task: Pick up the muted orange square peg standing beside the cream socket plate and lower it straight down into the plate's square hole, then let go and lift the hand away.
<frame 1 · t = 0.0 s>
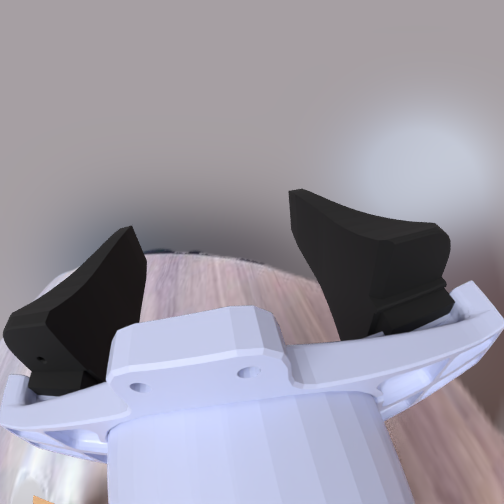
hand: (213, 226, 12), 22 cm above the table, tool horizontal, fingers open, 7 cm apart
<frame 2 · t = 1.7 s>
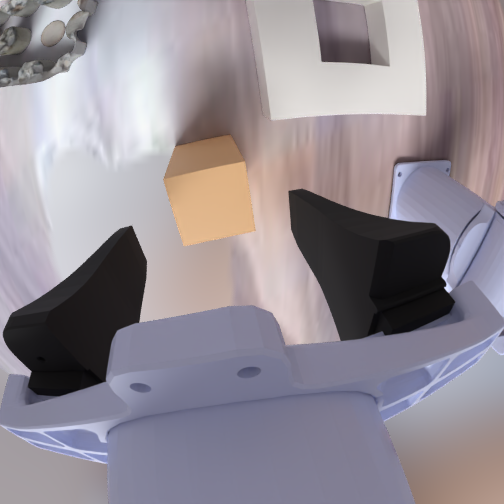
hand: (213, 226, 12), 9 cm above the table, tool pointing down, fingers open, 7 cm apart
egg carton: (38, 39, 10), on the table
peg: (207, 165, 19), on the table
socket plate: (337, 31, 14), on the table
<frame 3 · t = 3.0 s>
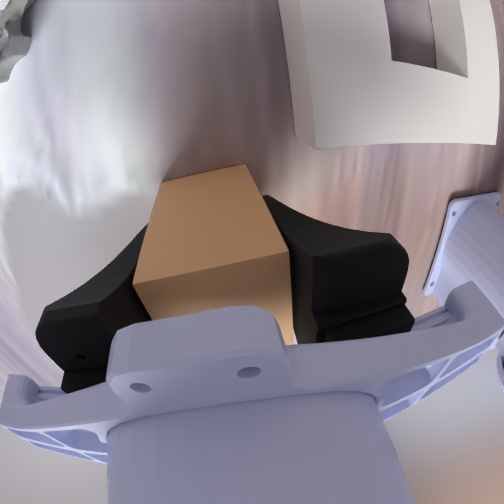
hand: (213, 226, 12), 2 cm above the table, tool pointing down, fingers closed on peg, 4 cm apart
peg: (211, 210, 13), on the table, touching gripper
socket plate: (398, 19, 8), on the table
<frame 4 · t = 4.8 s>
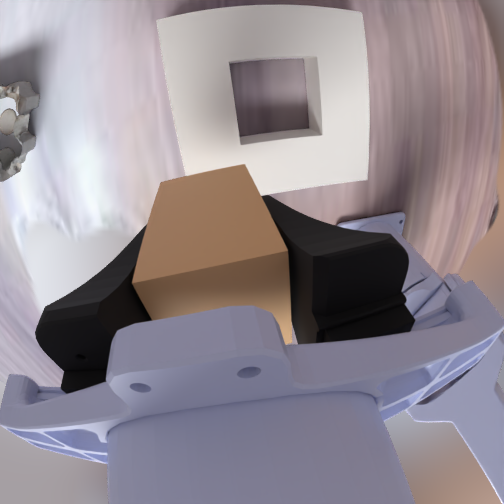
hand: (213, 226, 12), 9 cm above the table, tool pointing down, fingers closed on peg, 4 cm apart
peg: (210, 209, 13), point 7 cm above the table, touching gripper
socket plate: (269, 96, 17), on the table
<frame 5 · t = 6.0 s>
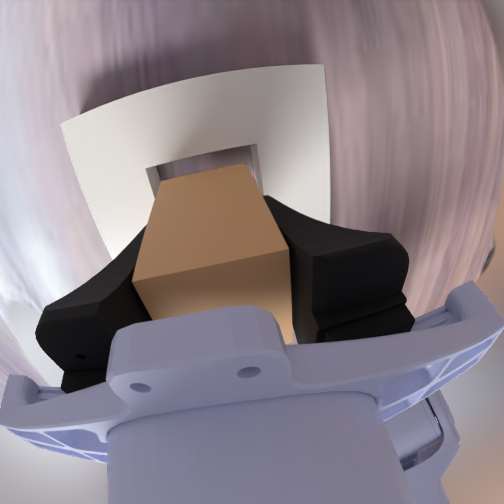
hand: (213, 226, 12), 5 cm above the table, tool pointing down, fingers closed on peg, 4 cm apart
peg: (210, 208, 13), point 3 cm above the table, touching gripper
socket plate: (209, 186, 16), on the table
when the fingers open (3 cm above the table, at t = 6.8 s): peg drops 1 cm, resting in socket plate.
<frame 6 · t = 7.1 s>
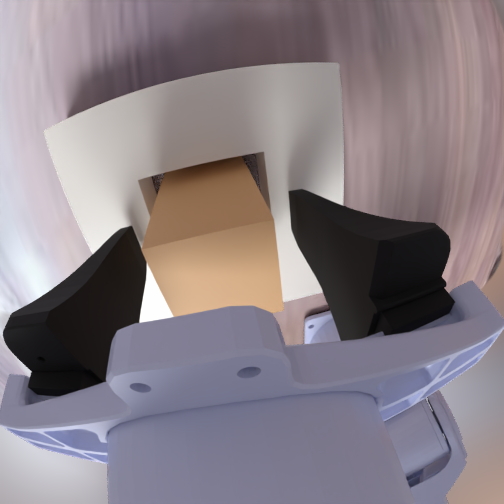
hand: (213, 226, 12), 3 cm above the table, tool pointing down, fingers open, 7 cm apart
peg: (210, 196, 15), resting in socket plate
socket plate: (210, 197, 15), on the table
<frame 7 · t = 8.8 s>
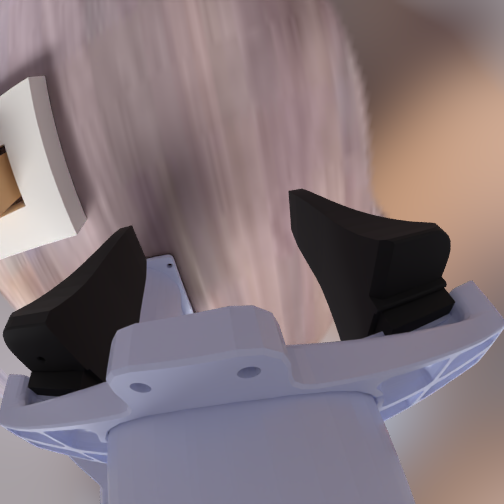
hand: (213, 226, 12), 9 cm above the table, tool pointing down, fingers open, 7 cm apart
peg: (9, 174, 16), resting in socket plate
socket plate: (9, 175, 16), on the table
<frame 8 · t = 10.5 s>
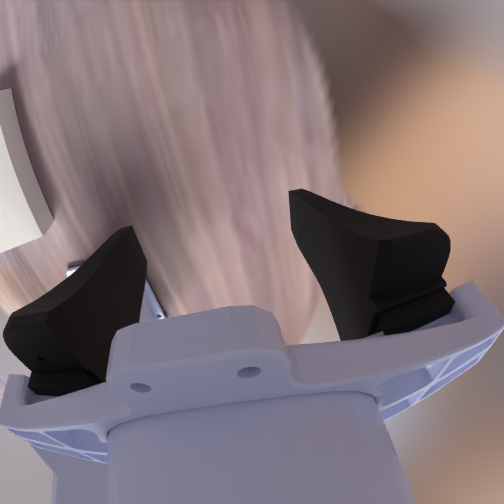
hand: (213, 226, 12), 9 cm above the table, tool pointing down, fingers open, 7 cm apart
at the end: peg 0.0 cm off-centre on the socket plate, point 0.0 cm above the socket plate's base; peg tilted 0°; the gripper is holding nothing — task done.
